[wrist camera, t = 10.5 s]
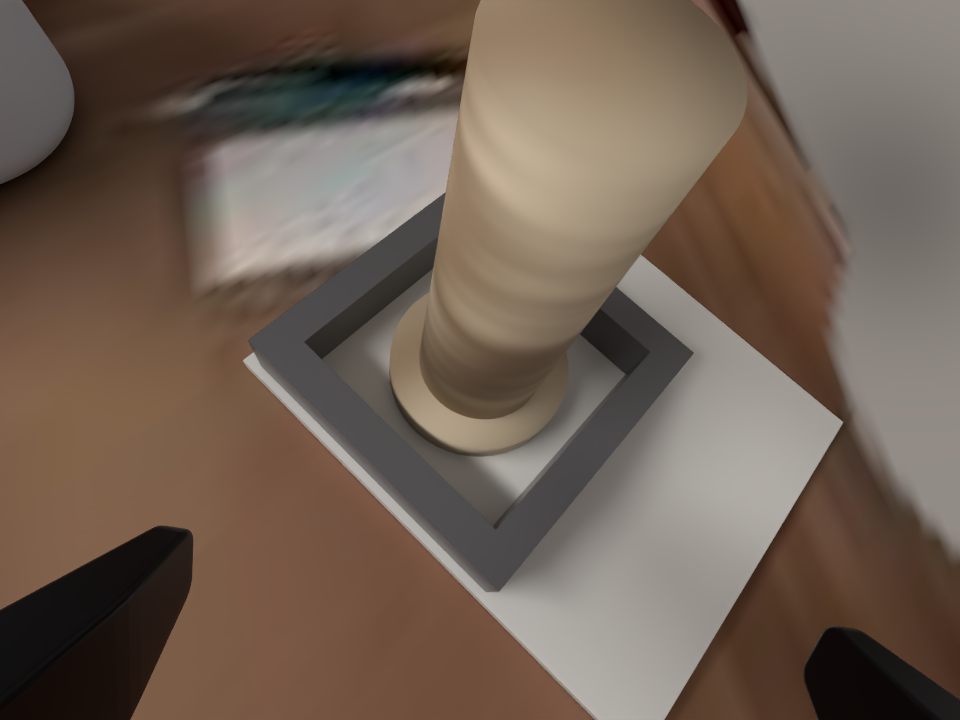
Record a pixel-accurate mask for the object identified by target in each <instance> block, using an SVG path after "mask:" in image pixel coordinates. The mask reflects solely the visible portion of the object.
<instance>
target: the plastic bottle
mask: <svg viewBox="0 0 960 720" xmlns="http://www.w3.org/2000/svg"><path fill="white" fill-rule="evenodd" d="M73 113H74V88H73V83H72V80H71V77H70V74H69V71H68V69H67V67H66V65H65V63H64V61H63V59H62V58H61V56H60V55H59V53H58V52H57V50H56V49H55V47H54V46H53V44H52V43H51V42H50V40H49V39H48V37H47V36H46V34H45V33H44V31H43V30H42V28H41V27H40V26H39V24H38V23H37V21H36V20H35V18H34V17H33V15H32V14H31V12H30V11H29V10H28V8H27V7H26V5H25V4H24V2H23V1H22V0H0V184H2V183H5V182H7V181H9V180H12V179H14V178H16V177H18V176H20V175H22V174H24V173H25V172H27V171H29V170H30V169H32V168H34V167H35V166H37V165H38V164H39V163H40V162H42V161H43V160H44V159H45V158H47V157H48V156H49V155H50V154H51V153H52V152H53V151H54V150H55V148H56V147H57V146H58V145H59V143H60V142H61V141H62V139H63V138H64V136H65V134H66V132H67V130H68V128H69V126H70V123H71V121H72V117H73Z"/></svg>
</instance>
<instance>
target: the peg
mask: <svg viewBox="0 0 960 720" xmlns="http://www.w3.org/2000/svg"><path fill="white" fill-rule="evenodd" d="M746 105H747V83H746V77H745V73H744V70H743V66H742V64H741V62H740V59H739V57H738V54H737V53H736V51H735V49H734V47H733V46H732V44H731V42H730V41H729V39H728V38H727V37H726V35H725V34H724V33H723V31H722V30H721V29H720V28H719V27H718V25H717V24H716V23H715V22H714V21H713V20H712V19H711V18H710V17H709V16H708V15H707V14H706V13H705V12H704V11H703V10H701V9H700V8H699V7H698V6H697V5H695V4H694V3H693V2H691V1H690V0H481V1H480V4H479V6H478V9H477V11H476V15H475V20H474V25H473V31H472V37H471V43H470V49H469V55H468V61H467V67H466V73H465V79H464V85H463V91H462V97H461V103H460V110H459V116H458V122H457V128H456V134H455V140H454V146H453V152H452V158H451V164H450V170H449V176H448V182H447V188H446V194H445V200H444V206H443V212H442V218H441V224H440V230H439V237H438V243H437V249H436V255H435V261H434V267H433V273H432V279H431V285H430V291H429V293H428V294H426V295H424V296H423V297H422V298H420V299H419V300H418V301H416V302H415V303H414V304H413V305H412V306H411V307H410V308H409V309H408V311H407V312H406V313H405V315H404V316H403V317H402V319H401V321H400V322H399V324H398V326H397V328H396V331H395V333H394V336H393V340H392V344H391V350H390V368H389V375H390V385H391V389H392V394H393V396H394V399H395V402H396V404H397V406H398V408H399V410H400V412H401V414H402V415H403V417H404V418H405V419H406V421H407V422H408V424H409V425H410V426H411V427H412V428H413V429H414V430H415V431H416V432H417V433H418V434H419V435H421V436H422V437H423V438H424V439H426V440H427V441H429V442H430V443H432V444H434V445H435V446H437V447H439V448H442V449H444V450H446V451H449V452H452V453H456V454H459V455H465V456H475V457H485V456H494V455H498V454H503V453H506V452H509V451H511V450H514V449H516V448H518V447H520V446H521V445H523V444H525V443H526V442H528V441H529V440H530V439H532V438H533V437H534V436H535V435H536V434H537V433H538V432H539V431H540V430H541V429H542V428H543V427H544V426H545V425H546V424H547V423H548V422H549V421H550V420H551V418H552V417H553V416H554V414H555V413H556V412H557V410H558V408H559V406H560V404H561V403H562V400H563V398H564V395H565V392H566V388H567V383H568V371H569V370H568V358H567V354H566V351H567V350H568V349H569V347H570V346H571V345H572V344H573V342H574V341H575V340H576V338H577V337H578V336H579V334H580V333H581V332H582V330H583V329H584V328H585V327H586V325H587V324H588V323H589V321H590V320H591V319H592V317H593V316H594V315H595V314H596V312H597V311H598V310H599V308H600V307H601V306H602V304H603V303H604V302H605V301H606V299H607V298H608V297H609V295H610V294H611V293H612V291H613V290H614V289H615V287H616V286H617V285H618V284H619V282H620V281H621V280H622V278H623V277H624V276H625V274H626V273H627V272H628V271H629V269H630V268H631V267H632V265H633V264H634V263H635V261H636V260H637V259H638V257H639V256H640V255H641V254H642V252H643V251H644V250H645V248H646V247H647V246H648V244H649V243H650V242H651V241H652V239H653V238H654V237H655V235H656V234H657V233H658V231H659V230H660V229H661V228H662V226H663V225H664V224H665V222H666V221H667V220H668V218H669V217H670V216H671V214H672V213H673V212H674V211H675V209H676V208H677V207H678V205H679V204H680V203H681V201H682V200H683V199H684V198H685V196H686V195H687V194H688V192H689V191H690V190H691V188H692V187H693V186H694V184H695V183H696V182H697V181H698V179H699V178H700V177H701V175H702V174H703V173H704V171H705V170H706V169H707V168H708V166H709V165H710V164H711V162H712V161H713V160H714V158H715V157H716V156H717V155H718V153H719V152H720V151H721V149H722V148H723V147H724V145H725V144H726V143H727V141H728V140H729V139H730V138H731V136H732V135H733V134H734V132H735V131H736V130H737V128H738V127H739V125H740V123H741V121H742V119H743V116H744V113H745V109H746Z"/></svg>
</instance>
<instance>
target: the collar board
mask: <svg viewBox="0 0 960 720" xmlns="http://www.w3.org/2000/svg"><path fill="white" fill-rule="evenodd" d="M445 194H446V193H444V194H443V195H442V196H440V197H439V198H437V199H436V200H435V201H433V202H432V203H431V204H429V205H428V206H427V207H425V208H424V209H423V210H421V211H420V212H419V213H417V214H416V215H415V216H413V217H412V218H411V219H409V220H408V221H407V222H405V223H404V224H403V225H401V226H400V227H399V228H397V229H396V230H395V231H393V232H392V233H391V234H389V235H388V236H387V237H385V238H384V239H383V240H381V241H380V242H379V243H377V244H376V245H375V246H373V247H372V248H371V249H369V250H368V251H367V252H365V253H364V254H363V255H361V256H360V257H359V258H357V259H356V260H355V261H353V262H352V263H350V264H349V265H348V266H346V267H345V268H344V269H342V270H341V271H340V272H338V273H337V274H336V275H334V276H333V277H332V278H330V279H329V280H328V281H326V282H325V283H324V284H322V285H321V286H320V287H318V288H317V289H316V290H314V291H313V292H312V293H310V294H309V295H308V296H306V297H305V298H304V299H302V300H301V301H300V302H298V303H297V304H296V305H294V306H293V307H292V308H290V309H289V310H288V311H286V312H285V313H284V314H282V315H281V316H280V317H278V318H277V319H276V320H274V321H273V322H272V323H270V324H269V325H267V326H266V327H265V328H263V329H262V330H261V331H259V332H258V333H257V334H255V335H254V336H253V337H251V338H250V339H249V340H248V342H249V344H250V346H251V347H252V349H253V351H254V352H253V353H252V354H251V355H250V356H248V357H247V358H246V359H244V360H243V362H244V363H245V365H246V367H247V368H248V369H249V370H250V371H251V372H252V373H253V374H254V375H255V376H256V377H257V378H258V379H259V380H260V381H261V382H262V383H263V384H264V385H265V386H266V387H267V388H268V389H269V390H270V391H271V392H272V393H273V394H274V395H275V396H276V397H277V398H278V399H279V400H280V401H281V402H282V403H283V404H284V405H285V406H286V407H287V408H288V409H289V410H290V411H291V412H292V413H293V414H294V415H295V416H296V417H297V418H298V420H299V421H300V422H301V423H302V424H303V425H304V426H305V427H306V428H307V429H308V430H309V431H310V432H311V433H312V434H313V435H314V436H315V437H316V438H317V439H318V440H319V441H320V442H321V443H322V444H323V445H324V446H325V447H326V448H327V449H328V450H329V451H330V452H331V453H332V454H333V455H334V456H335V457H336V458H337V459H338V460H339V461H340V462H341V463H342V464H343V465H344V466H345V467H346V468H347V469H348V470H349V471H350V472H351V473H352V474H353V475H354V476H355V477H356V478H357V479H358V480H359V481H360V482H361V483H362V484H363V485H364V486H365V487H366V488H367V489H368V490H369V491H370V492H371V493H372V494H373V495H374V496H375V497H376V498H377V499H378V500H379V501H380V503H381V504H382V505H383V506H384V507H385V508H386V509H387V510H388V511H389V512H390V513H391V514H392V515H393V516H394V517H395V518H396V519H397V520H398V521H399V522H400V523H401V524H402V525H403V526H404V527H405V528H406V529H407V530H408V531H409V532H410V533H411V534H412V535H413V536H414V537H415V538H416V539H417V540H418V541H419V542H420V543H421V544H422V545H423V546H424V547H425V548H426V549H427V550H428V551H429V552H430V553H431V554H432V555H433V556H434V557H435V558H436V559H437V560H438V561H439V562H440V563H441V564H442V565H443V566H444V567H445V568H446V569H447V570H448V571H449V572H450V573H451V574H452V575H453V576H454V577H455V578H456V579H457V580H458V581H459V582H460V583H461V584H462V586H463V587H464V588H465V589H466V590H467V591H468V592H469V593H470V594H471V595H472V596H473V597H474V598H475V599H476V600H477V601H478V602H479V603H480V604H481V605H482V606H483V607H484V608H485V609H486V610H487V611H488V612H489V613H490V614H491V615H492V616H493V617H494V618H495V619H496V620H497V621H498V622H499V623H500V624H501V625H502V626H503V627H504V628H505V629H506V630H507V631H508V632H509V633H510V634H511V635H512V636H513V637H514V638H515V639H516V640H517V641H518V642H519V643H520V644H521V645H522V646H523V647H524V648H525V649H526V650H527V651H528V652H529V653H530V654H531V655H532V656H533V657H534V658H535V659H536V660H537V661H538V662H539V663H540V664H541V665H542V666H543V667H544V669H545V670H546V671H547V672H548V673H549V674H550V675H551V676H552V677H553V678H554V679H555V680H556V681H557V682H558V683H559V684H560V685H561V686H562V687H563V688H564V689H565V690H566V691H567V692H568V693H569V694H570V695H571V696H572V697H573V698H574V699H575V700H576V701H577V702H578V703H579V704H580V705H581V706H582V707H583V708H584V709H585V710H586V711H587V712H588V713H589V714H590V715H591V716H592V717H593V718H594V719H595V720H664V719H665V718H666V716H667V714H668V713H669V711H670V710H671V708H672V706H673V705H674V703H675V701H676V700H677V698H678V696H679V695H680V693H681V691H682V690H683V688H684V686H685V685H686V683H687V681H688V680H689V678H690V676H691V675H692V673H693V671H694V670H695V668H696V666H697V665H698V663H699V661H700V660H701V658H702V656H703V655H704V653H705V651H706V650H707V648H708V646H709V645H710V643H711V641H712V640H713V638H714V636H715V635H716V633H717V631H718V630H719V628H720V626H721V625H722V623H723V621H724V620H725V618H726V617H727V615H728V613H729V612H730V610H731V608H732V607H733V605H734V603H735V602H736V600H737V598H738V597H739V595H740V593H741V592H742V590H743V588H744V587H745V585H746V583H747V582H748V580H749V578H750V577H751V575H752V573H753V572H754V570H755V568H756V567H757V565H758V563H759V562H760V560H761V558H762V557H763V555H764V553H765V552H766V550H767V548H768V547H769V545H770V543H771V542H772V540H773V538H774V537H775V535H776V533H777V532H778V530H779V528H780V527H781V525H782V524H783V522H784V520H785V519H786V517H787V515H788V514H789V512H790V510H791V509H792V507H793V505H794V504H795V502H796V500H797V499H798V497H799V495H800V494H801V492H802V490H803V489H804V487H805V485H806V484H807V482H808V480H809V479H810V477H811V475H812V474H813V472H814V470H815V469H816V467H817V465H818V464H819V462H820V460H821V459H822V457H823V455H824V454H825V452H826V450H827V449H828V447H829V445H830V444H831V442H832V440H833V439H834V437H835V435H836V434H837V432H838V431H839V429H840V427H841V426H842V424H843V422H842V421H841V420H840V419H839V418H837V417H836V416H835V415H834V414H833V413H831V412H830V411H829V410H828V409H827V408H825V407H824V406H823V405H822V404H821V403H819V402H818V401H817V400H816V399H814V398H813V397H812V396H811V395H810V394H808V393H807V392H806V391H805V390H804V389H802V388H801V387H800V386H799V385H798V384H796V383H795V382H794V381H793V380H792V379H790V378H789V377H788V376H787V375H786V374H784V373H783V372H782V371H781V370H779V369H778V368H777V367H776V366H775V365H773V364H772V363H771V362H770V361H769V360H767V359H766V358H765V357H764V356H763V355H761V354H760V353H759V352H758V351H757V350H755V349H754V348H753V347H752V346H750V345H749V344H748V343H747V342H746V341H744V340H743V339H742V338H741V337H740V336H738V335H737V334H736V333H735V332H734V331H732V330H731V329H730V328H729V327H728V326H726V325H725V324H724V323H723V322H722V321H720V320H719V319H718V318H717V317H715V316H714V315H713V314H712V313H711V312H709V311H708V310H707V309H706V308H705V307H703V306H702V305H701V304H700V303H699V302H697V301H696V300H695V299H694V298H693V297H691V296H690V295H689V294H688V293H687V292H685V291H684V290H683V289H682V288H680V287H679V286H678V285H677V284H676V283H674V282H673V281H672V280H671V279H670V278H668V277H667V276H666V275H665V274H664V273H662V272H661V271H660V270H659V269H658V268H656V267H655V266H654V265H653V264H652V263H650V262H649V261H648V260H647V259H645V258H644V257H643V256H642V255H640V256H639V257H638V259H637V260H636V261H635V263H634V264H633V265H632V267H631V268H630V269H629V271H628V272H627V273H626V274H625V276H624V277H623V278H622V280H621V281H620V282H619V284H618V285H617V286H616V287H615V289H614V290H613V291H612V293H611V294H610V295H609V297H608V298H607V299H606V301H605V302H604V303H603V304H602V306H601V307H600V308H599V310H598V311H597V312H596V314H595V315H594V316H593V317H592V319H591V320H590V321H589V323H588V324H587V325H586V327H585V328H584V329H583V330H582V332H581V333H580V334H579V336H578V337H577V338H576V340H575V341H574V342H573V344H572V345H571V346H570V347H569V349H568V350H567V351H566V354H567V358H568V370H569V371H568V383H567V388H566V392H565V395H564V398H563V400H562V403H561V404H560V406H559V408H558V410H557V412H556V413H555V414H554V416H553V417H552V418H551V420H550V421H549V422H548V423H547V424H546V425H545V426H544V427H543V428H542V429H541V430H540V431H539V432H538V433H537V434H536V435H535V436H534V437H533V438H532V439H530V440H529V441H528V442H526V443H525V444H523V445H521V446H520V447H518V448H516V449H514V450H511V451H509V452H506V453H503V454H498V455H494V456H485V457H475V456H465V455H459V454H456V453H452V452H449V451H446V450H444V449H442V448H439V447H437V446H435V445H434V444H432V443H430V442H429V441H427V440H426V439H424V438H423V437H422V436H421V435H419V434H418V433H417V432H416V431H415V430H414V429H413V428H412V427H411V426H410V425H409V424H408V422H407V421H406V419H405V418H404V417H403V415H402V414H401V412H400V410H399V408H398V406H397V404H396V402H395V399H394V396H393V394H392V389H391V385H390V375H389V368H390V350H391V344H392V340H393V336H394V333H395V331H396V328H397V326H398V324H399V322H400V321H401V319H402V317H403V316H404V315H405V313H406V312H407V311H408V309H409V308H410V307H411V306H412V305H413V304H414V303H415V302H416V301H418V300H419V299H420V298H422V297H423V296H424V295H426V294H428V293H429V291H430V285H431V279H432V273H433V267H434V261H435V255H436V249H437V243H438V237H439V230H440V224H441V218H442V212H443V206H444V200H445Z"/></svg>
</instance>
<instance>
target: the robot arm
mask: <svg viewBox="0 0 960 720" xmlns="http://www.w3.org/2000/svg"><path fill="white" fill-rule="evenodd" d="M192 563H193V535H192V533H191V532H190V531H189V530H188V529H183V528H176V527H170V526H157V527H154V528H152V529H150V530H148V531H146V532H144V533H143V534H141V535H139V536H137V537H135V538H133V539H131V540H129V541H128V542H126V543H124V544H122V545H120V546H118V547H116V548H115V549H113V550H111V551H109V552H107V553H105V554H103V555H102V556H100V557H98V558H96V559H94V560H92V561H90V562H89V563H87V564H85V565H83V566H81V567H79V568H77V569H75V570H74V571H72V572H70V573H68V574H66V575H64V576H62V577H61V578H59V579H57V580H55V581H53V582H51V583H49V584H48V585H46V586H44V587H42V588H40V589H38V590H36V591H35V592H33V593H31V594H29V595H27V596H25V597H23V598H22V599H20V600H18V601H16V602H14V603H12V604H10V605H8V606H7V607H5V608H3V609H1V610H0V720H130V719H131V717H132V715H133V713H134V711H135V709H136V707H137V705H138V703H139V701H140V699H141V696H142V694H143V692H144V690H145V688H146V686H147V683H148V681H149V679H150V677H151V675H152V673H153V670H154V668H155V666H156V664H157V662H158V659H159V657H160V655H161V653H162V651H163V649H164V646H165V644H166V642H167V640H168V638H169V636H170V633H171V631H172V629H173V627H174V625H175V623H176V620H177V618H178V616H179V614H180V612H181V610H182V607H183V605H184V603H185V601H186V599H187V596H188V593H189V590H190V587H191V582H192ZM804 682H805V685H806V688H807V691H808V694H809V696H810V699H811V702H812V704H813V707H814V710H815V713H816V715H817V718H818V720H960V700H959V699H958V698H956V697H955V696H953V695H952V694H951V693H949V692H948V691H946V690H945V689H943V688H942V687H941V686H939V685H938V684H936V683H935V682H933V681H932V680H931V679H929V678H928V677H926V676H925V675H924V674H922V673H921V672H919V671H918V670H916V669H915V668H914V667H912V666H911V665H909V664H908V663H906V662H905V661H904V660H902V659H901V658H899V657H898V656H896V655H895V654H894V653H892V652H891V651H889V650H888V649H887V648H885V647H884V646H882V645H881V644H879V643H878V642H877V641H875V640H874V639H872V638H871V637H869V636H868V635H867V634H865V633H863V632H862V631H859V630H857V629H853V628H846V627H839V626H830V627H828V628H827V629H825V630H824V632H823V633H822V635H821V637H820V638H819V640H818V642H817V644H816V645H815V647H814V649H813V651H812V653H811V654H810V656H809V658H808V660H807V661H806V663H805V666H804Z"/></svg>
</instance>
